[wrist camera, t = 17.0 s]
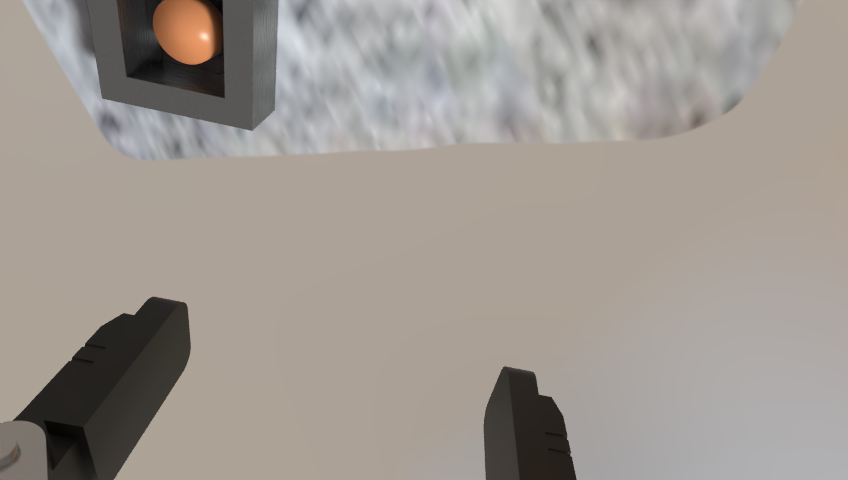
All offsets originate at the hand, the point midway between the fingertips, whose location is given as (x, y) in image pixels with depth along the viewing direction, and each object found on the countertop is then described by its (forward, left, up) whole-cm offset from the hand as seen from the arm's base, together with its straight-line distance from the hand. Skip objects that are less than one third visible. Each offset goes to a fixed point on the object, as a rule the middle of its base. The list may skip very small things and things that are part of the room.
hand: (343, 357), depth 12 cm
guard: (0, -17, -30) cm, 35 cm away
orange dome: (0, -17, -29) cm, 33 cm away
